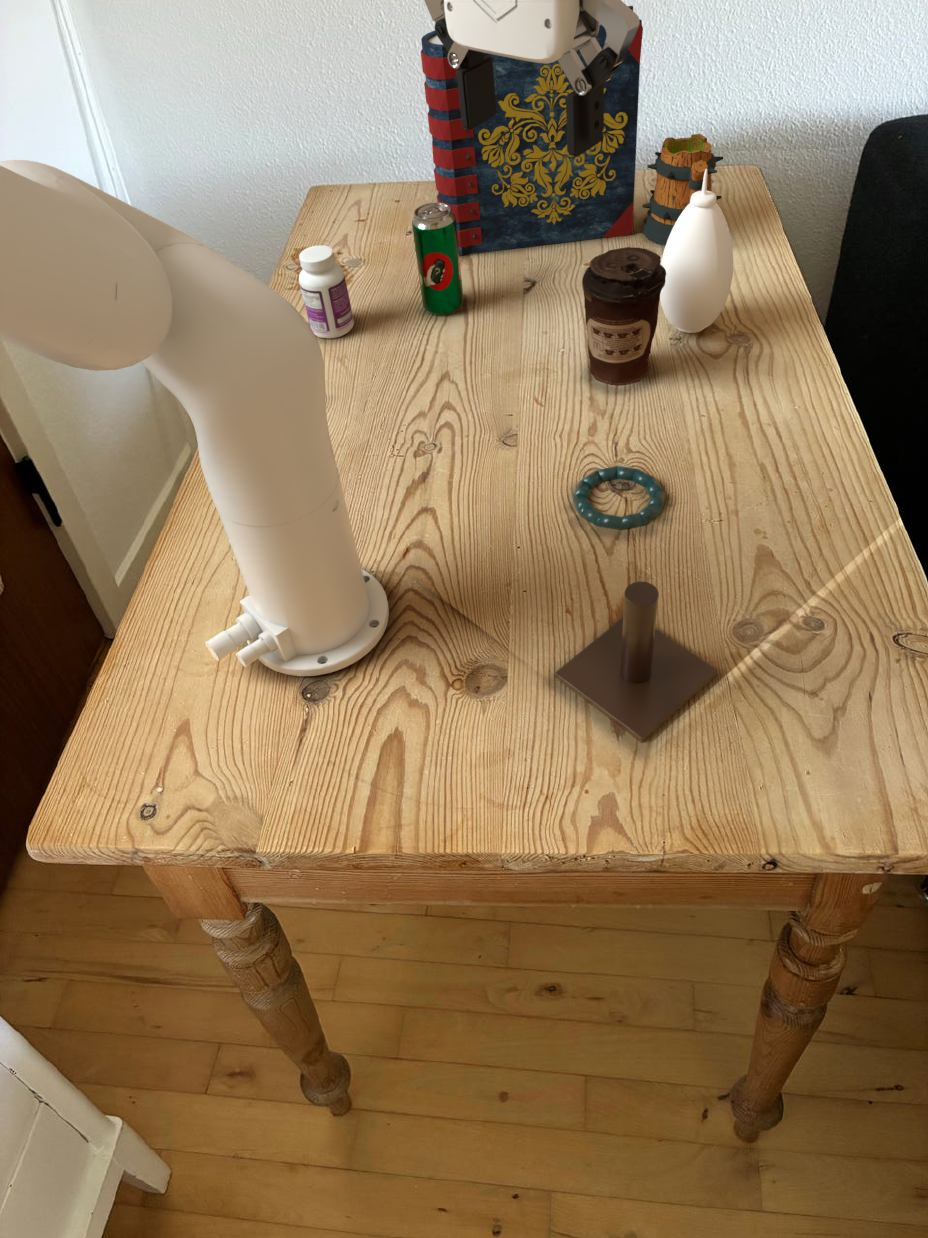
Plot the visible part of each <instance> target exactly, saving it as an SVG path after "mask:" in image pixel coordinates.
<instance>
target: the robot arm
mask: <svg viewBox="0 0 928 1238" xmlns="http://www.w3.org/2000/svg"><path fill="white" fill-rule="evenodd" d="M423 1H424V4H425V5H426V9H427V10H428V13H429V14H430V18H431V19H432V22H434V31H435V32H436V35H437V36H438V38H439V39H440V41H441V42H442V44H443V45H444V47H445V48H446V50H447V51H448V62H449V64H450V66H451V67H452V68H454V69H457V79H458V89H459V99H460V108H461V118H462V126H463V128H465V129H469V130H471V129H473V128H474V127H476V126H478V125H480V124H481V123H483V122H485V121H487V120H488V119H490V118H492V117H493V116H495V114H496V99H495V86H494V73H493V62H492V58H491V56H487V55H486V56H484V53H488V54H493V55H498V56H503V57H508V58H513V59H519V60H524V61H529V62H535V63H543V64H545V63H552V62H554V61H558V62H559V64H560V66H561V68H562V69H563V71H564V73H565V75H566V76H567V78H568V80H569V82H570V83H571V85H572V87H573V89H574V91H573V92H571V93H569V94H568V95H567V97H566V120H567V151H568V153H569V155H571V156H575V157H578V156H579V155H581V154H582V153H584V152H586V151H587V150H589V149H590V148H592V147H593V146H595V145H596V144H598V143H599V142H600V141H601V139H602V132H603V129H604V83H605V82H607V81H608V80H610V79H611V78H612V75H613V73H614V72H615V71H616V70H617V69H618V68H619V67H620V65H621V64H622V63H623V62H624V61H625V60H626V58H627V50H628V49H629V48H630V46H631V43H632V41H633V39H634V37H635V34H636V32H637V30H638V27H639V24H640V21H639V20H640V18H639V16H638V14H637V13H636V12H635V11H634V10H633V11H632V10H631V9H630V8H629V7H628V6H629V5H627V4H626V3H625V2H624V1H622V0H423ZM600 24H601V25H602V26H603V27H604V28H605V30H606V40H605V42H604V43H605V44H604V47H603V49H601V47H600V45H599V43H598V41H597V40H596V37H597V35H598V31H599V26H600ZM578 50H579V51H580V53H581V55H582V57H583V58H584V60H585V62H586V64H587V67H586V68H585V67H584V65H583V63H582V61H581V59H580V58H579V56H578V54H577V51H578ZM0 342H3V343H6V344H8V345H11V346H14V347H18V348H19V349H23V350H25V351H28V352H30V353H32V354H35V355H37V356H40V357H43V358H44V359H47V360H50V361H52V362H55V363H59V364H62V365H66V366H68V367H70V368H75V369H81V370H82V369H83V370H89V371H94V372H95V371H96V372H97V371H98V372H99V371H116V370H121V369H124V368H128V367H133V366H135V365H137V364H139V363H140V364H142V365H143V366H144V367H145V368H146V369H147V370H148V371H149V372H150V373H151V374H152V375H153V376H154V377H156V379H157V380H158V381H159V382H160V383H161V384H162V385H163V386H164V387H165V388H166V389H167V390H168V391H169V392H170V393H171V394H172V395H173V396H174V397H175V398H176V399H177V400H178V401H179V403H180V404H181V405H182V407H183V408H184V410H185V411H186V413H187V414H188V416H189V418H190V420H191V423H192V425H193V428H194V430H195V435H196V440H197V449H198V457H199V464H200V467H201V471H202V474H203V477H204V481H205V484H206V486H207V489H208V492H209V494H210V497H211V499H212V502H213V504H214V507H215V508H216V510H217V513H218V516H219V519H220V521H221V524H222V527H223V529H224V531H225V534H226V537H227V540H228V542H229V544H230V547H231V551H232V552H233V555H234V558H235V561H236V563H237V566H238V568H239V571H240V573H241V576H242V579H243V582H244V585H245V588H246V590H247V593H248V595H247V596H246V597H244V598H242V599H240V600H239V603H240V606H241V608H242V611H243V613H242V614H240V615H239V616H238V617H236V618H235V624H233V625H232V626H230V627H229V628H227V629H226V630H222V631H220V632H219V633H217V634H216V635H214V636H213V637H211V638H209V639H208V640H207V641H205V646H206V649H207V650H208V651H209V653H210V654H211V656H212V657H213V658H214V659H215V660H216V662H220V661H222V660H223V659H224V658H226V657H228V656H229V655H231V654H232V653H233V652H235V651H236V650H237V649H238V648H239V647H241V646H242V645H243V644H245V643H247V645H246V646H245V647H243V648H242V649H240V650H239V651H237V652H235V656H236V658H237V659H238V661H239V663H240V664H241V665H242V666H243V667H245V668H247V667H248V666H249V665H250V664H252V663H253V662H255V661H257V660H258V661H259V662H260V663H261V664H262V665H263V666H265V667H266V668H269V669H271V670H273V671H274V672H277V673H281V674H284V675H288V676H294V677H295V676H296V677H316V676H321V675H328V674H331V673H333V672H337V671H339V670H344V669H345V668H347V667H349V666H351V665H353V664H355V663H356V662H358V661H360V660H361V659H362V658H364V657H365V656H367V655H368V654H369V653H370V652H371V651H372V650H373V649H374V648H375V647H376V646H377V644H378V643H379V642H380V640H381V639H382V637H383V636H384V634H385V631H386V629H387V627H388V624H389V619H390V606H389V602H388V597H387V593H386V591H385V589H384V587H383V585H382V584H381V582H379V580H378V579H377V578H376V576H374V575H372V574H371V573H370V572H368V571H366V570H365V569H362V565H361V561H360V557H359V551H358V548H357V544H356V540H355V536H354V531H353V527H352V523H351V520H350V514H349V510H348V507H347V502H346V498H345V494H344V490H343V486H342V482H341V478H340V477H341V476H340V472H339V468H338V467H337V463H336V462H337V461H336V458H335V454H334V450H333V445H332V440H331V434H330V429H329V424H328V423H329V422H328V417H327V404H326V403H327V402H326V371H325V370H326V368H325V361H324V357H323V353H322V348H321V346H320V343H319V339H318V338H317V336H316V335H315V334H314V332H313V330H312V329H311V327H310V324H309V322H308V321H307V319H305V317H304V316H303V315H302V314H301V313H300V312H299V310H298V309H297V308H296V307H295V306H294V305H293V304H292V303H291V302H289V300H287V299H286V298H285V297H284V296H283V295H281V293H279V292H277V291H276V290H275V289H274V288H272V287H270V286H269V285H267V284H266V283H264V282H263V281H262V280H260V279H259V278H257V277H256V276H255V275H253V274H252V273H250V272H249V271H248V270H245V269H243V268H242V267H240V266H239V265H237V264H236V263H235V262H233V261H232V260H230V259H228V258H227V257H226V256H225V255H223V254H221V253H220V252H218V250H216V249H214V248H212V247H210V246H209V245H207V244H206V243H204V242H203V241H200V240H199V239H197V238H195V237H193V236H191V235H189V234H187V233H185V232H184V231H181V230H180V229H178V228H176V227H174V226H172V225H170V224H168V223H167V222H164V221H162V220H160V219H158V218H156V217H154V216H152V215H150V214H148V213H146V212H144V211H142V210H140V209H139V208H137V207H134V206H133V205H131V204H128V203H127V202H125V201H123V200H121V199H119V198H118V197H115V196H113V195H111V194H109V193H108V192H106V191H104V190H101V189H99V188H98V187H96V186H94V185H91V184H90V183H88V182H86V181H84V180H82V179H80V178H78V177H77V176H74V175H72V174H70V173H68V172H66V171H63V170H61V169H59V168H57V167H56V166H55V167H54V166H52V165H49V164H46V163H42V162H39V161H33V160H27V159H9V160H8V159H7V160H1V161H0Z"/></svg>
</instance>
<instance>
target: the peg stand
mask: <svg viewBox="0 0 928 1238" xmlns="http://www.w3.org/2000/svg"><path fill="white" fill-rule="evenodd" d="M659 595H660V594H659V589H658V588H657V587H656V586H655V585H654V584H652V583H650V582H648V581H635V582H632V583H630V584H629V585H628V586H626V588H625V590H624V598H623V615H622V616H623V617H622V618H621V619H619V620H618V621H617V622H616V623H614V624H613V625H612V626H611V627H610V628H608V629H607V630H606V631H604V632H603V633H602V634H600V635H599V636H598V637H597V638H596V639H595V640H594V641H592V642H591V643H590V644H589V645H587V646H586V647H585V648H584V649H582V650H581V651H580V652H579V653H578V654H576V655H575V656H574V657H572V658H571V659H570V660H569V661H568V662H566V663H565V664H564V665H563V666H562V667H560V668H559V669H558V670H557V671H555V672H554V678H555V679H556V680H558V681H559V682H560V683H562V684H563V685H564V686H565V687H566V688H568V689H569V690H571V691H572V692H574V693H575V694H576V695H578V697H580V698H582V699H583V700H584V701H586V702H587V703H588V704H589V705H591V706H592V707H593V708H595V710H598V711H599V712H600V713H601V714H602V715H604V716H605V717H607V718H608V719H609V720H611V721H612V722H613V723H615V724H616V725H617V726H619V727H620V728H621V729H623V730H624V731H625V732H627V734H629V735H630V736H632V737H633V738H635V739H636V740H637V741H638V742H640V743H643V742H644V741H645V740H646V739H648V738H649V737H650V736H651V735H652V734H653V733H654V732H655V731H657V729H659V728H660V727H661V726H662V725H663V724H664V723H665V722H667V720H668V719H670V718H671V717H672V716H673V715H674V714H675V713H676V712H677V711H679V709H681V708H682V707H683V706H684V705H685V704H687V702H688V701H690V700H691V699H692V698H693V697H694V696H696V694H697V693H699V692H700V691H701V690H702V689H703V688H705V686H706V685H707V684H709V682H711V681H712V680H713V679H714V678H715V677H716V676H718V671H719V670H718V669H717V668H716V667H713V666H712V665H711V664H709V663H708V662H706V661H705V660H703V659H702V658H700V657H699V656H697V655H696V654H694V653H693V652H691V651H690V650H688V649H687V648H685V647H683V646H682V645H681V644H680V643H678V642H676V641H675V640H673V639H672V638H670V637H669V636H667V635H666V634H664V633H663V632H661V631H660V630H658V629H657V628H656V627H657V626H656V625H657V617H658V606H659V598H660V597H659Z"/></svg>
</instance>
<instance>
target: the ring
mask: <svg viewBox="0 0 928 1238" xmlns="http://www.w3.org/2000/svg"><path fill="white" fill-rule="evenodd" d="M614 480H623V481H632V482H634V483H636V484H638V485H639V486H641V487H643V488H644V490H645V491H646V492H647V494H648V496H649V500H648V504H647V505H646V506H645V507H644V508H642V509H640V511H638V512H635V513H631V514H627V515H621V516H620V515H614V514H607V513H603V512H601V511H600V510H598V509H596V508H595V507H593V506H592V504H591V502H590V500H589V498H590V495H591V492H592V490H593V489H594V488H596V487H597V486H599V485H600V484H601V483H603V482H609V481H614ZM666 496H667V495H666V493H665V491H664V490H663V487H662V486H661V484H660V482H659V480H658V479H657V478H656V477H654V476H652V475H651V474H649V473H647V472H645V471H644V470H641V469H639V468H634V467H629V466H628V467H627V466H619V465H614V466H610V467H606V468H600V469H596V470H594V471H593V472H591V473H590V474H588V475H587V476H585V477H584V478H583V479H581V480H579V482H578V483H577V486H576V488H575V492H574V494H573V497H572V502H573V504H574V506H575V509H576V511H577V513H578V516H580V517H581V518H583V519H584V520H586V521H588V522H589V523H590V524H592V525H594V526H595V527H598V528H603V529H604V528H605V529H610V530H611V529H612V530H618V531H625V530H629V529H633V528H634V529H635V528H638V527H643V526H646V525H648V524H649V523H650V522H652V521H653V520H654V519H656V518H657V517H658V516H659V515H661V514H662V513H663V509H664V506H665V502H666V499H667V497H666Z"/></svg>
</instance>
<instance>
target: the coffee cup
mask: <svg viewBox="0 0 928 1238" xmlns="http://www.w3.org/2000/svg"><path fill="white" fill-rule="evenodd" d="M661 260H662V256H660V254H658V253H657V252H655V251H652V250H649V249H647V248H641V247H635V246H634V247H631V246H626V247H620V248H615V249H610V250H607V251H606V252H604V253H602V254H598V255H596V256H594V257H592V259H590V262H589V266H588V267H587V268H586V270H585V272H584V274H583V275H582V281H581V283H582V289H583V297H584V298H583V299H584V300H583V303H584V317H585V327H586V342H587V353H588V359H589V372H590V374H591V375H592V376H593V378H594V379H595V380H596V381H598V382H600V383H602V384H606V385H610V386H615V387H616V386H618V387H620V386H627V385H632V384H634V383H638V382H640V381H642V380H643V379H644V378H646V377H647V376H648V374H649V373H650V366H649V357H650V355H651V351H652V345H653V340H654V338H655V334H656V330H657V325H658V321H659V320H658V319H659V307H660V293H661V290H662V288H663V287H664V285H665V281H666V280H665V278H666V270H665V268H664V267H663V266H662V265H661Z"/></svg>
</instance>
